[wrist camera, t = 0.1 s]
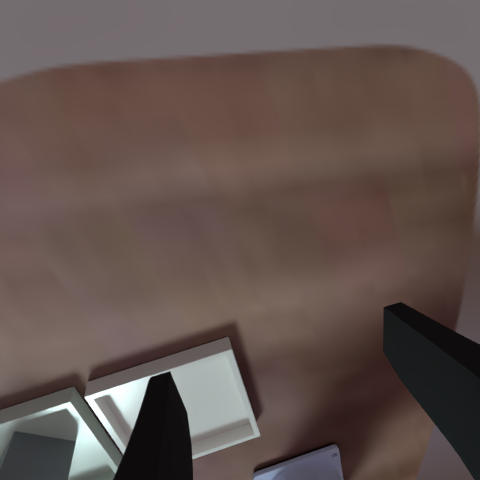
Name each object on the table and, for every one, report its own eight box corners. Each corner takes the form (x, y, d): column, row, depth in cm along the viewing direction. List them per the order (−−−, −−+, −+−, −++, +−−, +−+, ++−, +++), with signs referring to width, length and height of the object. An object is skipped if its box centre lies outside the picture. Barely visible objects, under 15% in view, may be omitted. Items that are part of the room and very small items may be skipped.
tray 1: (128, 465, 28) (127, 481, 27) (5, 507, 27) (-1, 526, 26) (73, 386, 23) (70, 401, 22) (-77, 434, 22) (-89, 453, 21)
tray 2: (256, 421, 29) (260, 435, 28) (139, 461, 28) (139, 477, 27) (228, 336, 24) (231, 349, 23) (87, 381, 23) (84, 397, 22)
